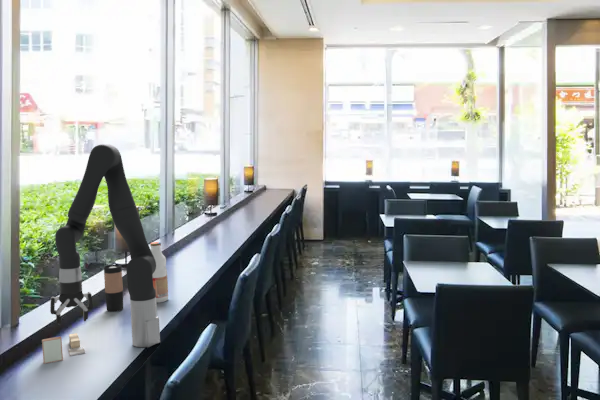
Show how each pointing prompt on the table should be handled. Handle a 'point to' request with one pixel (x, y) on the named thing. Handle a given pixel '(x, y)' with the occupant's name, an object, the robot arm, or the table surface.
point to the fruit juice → (159, 273)
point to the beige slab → (75, 345)
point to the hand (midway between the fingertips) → (72, 322)
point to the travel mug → (113, 288)
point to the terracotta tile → (52, 349)
